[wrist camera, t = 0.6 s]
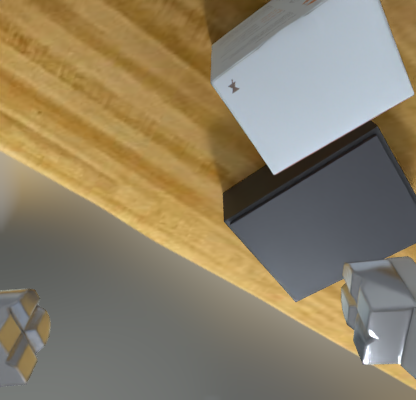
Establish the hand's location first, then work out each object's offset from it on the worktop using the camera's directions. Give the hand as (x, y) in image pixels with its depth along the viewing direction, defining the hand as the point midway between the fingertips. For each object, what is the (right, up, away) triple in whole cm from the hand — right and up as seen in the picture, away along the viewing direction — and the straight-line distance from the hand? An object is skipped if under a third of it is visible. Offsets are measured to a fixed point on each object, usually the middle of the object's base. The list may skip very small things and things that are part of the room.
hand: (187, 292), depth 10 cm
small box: (+6, +14, +19) cm, 25 cm away
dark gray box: (+11, +3, +26) cm, 28 cm away
